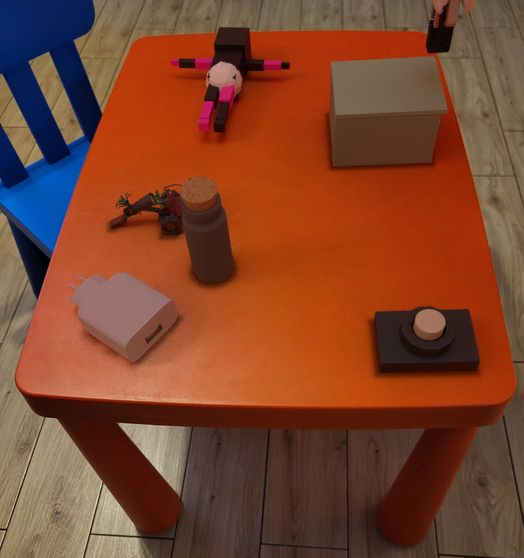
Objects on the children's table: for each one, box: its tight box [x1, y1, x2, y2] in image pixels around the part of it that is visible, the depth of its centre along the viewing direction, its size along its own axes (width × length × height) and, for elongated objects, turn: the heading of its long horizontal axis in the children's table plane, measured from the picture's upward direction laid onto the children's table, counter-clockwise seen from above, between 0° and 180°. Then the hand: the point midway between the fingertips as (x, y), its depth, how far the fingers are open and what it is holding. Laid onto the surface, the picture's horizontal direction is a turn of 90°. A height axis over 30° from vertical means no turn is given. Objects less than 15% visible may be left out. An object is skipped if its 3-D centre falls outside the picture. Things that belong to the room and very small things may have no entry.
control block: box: [373, 305, 481, 373], centre depth 77 cm, size 12×8×4 cm, turn 89°
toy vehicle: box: [109, 177, 192, 236], centre depth 91 cm, size 7×15×8 cm, turn 94°
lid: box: [330, 55, 449, 119], centre depth 93 cm, size 16×14×1 cm
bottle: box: [179, 176, 235, 285], centre depth 81 cm, size 6×6×15 cm
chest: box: [328, 72, 442, 168], centre depth 98 cm, size 16×14×9 cm
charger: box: [68, 271, 179, 363], centre depth 82 cm, size 5×9×15 cm
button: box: [413, 309, 445, 341], centre depth 75 cm, size 4×4×2 cm
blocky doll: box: [170, 26, 291, 134], centre depth 107 cm, size 22×25×6 cm
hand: (437, 49), depth 88 cm, fingers closed
